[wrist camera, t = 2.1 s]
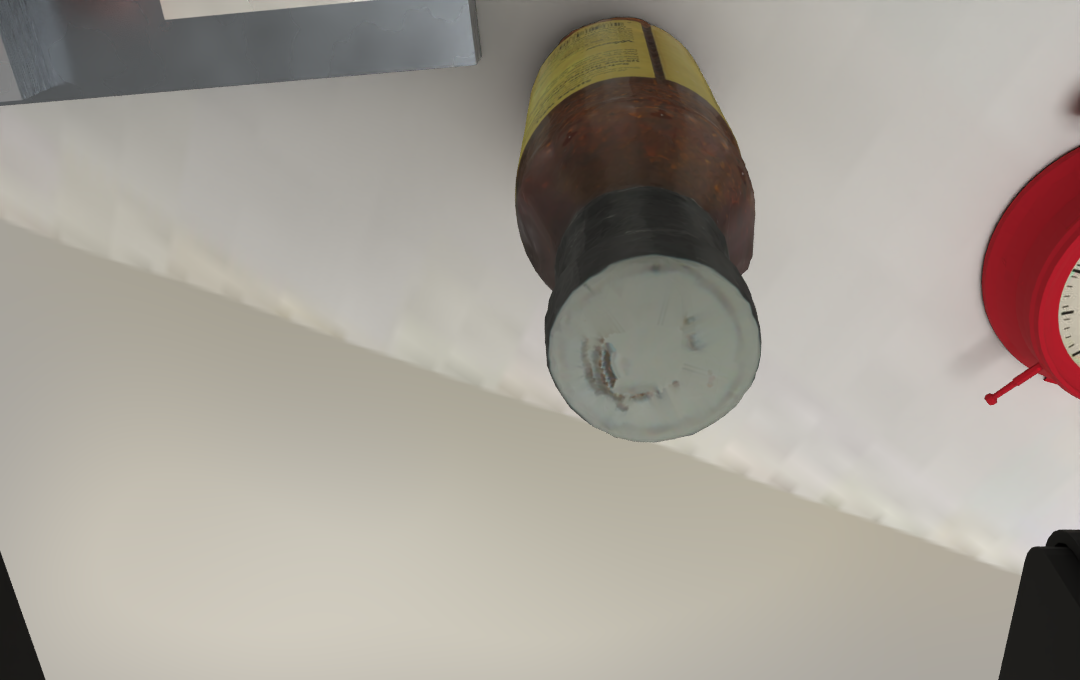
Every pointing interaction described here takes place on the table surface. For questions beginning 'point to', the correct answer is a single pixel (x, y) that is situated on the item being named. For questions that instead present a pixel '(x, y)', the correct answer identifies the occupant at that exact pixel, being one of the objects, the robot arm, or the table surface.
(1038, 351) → the alarm clock
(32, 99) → the base
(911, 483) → the table surface
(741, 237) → the sauce bottle
